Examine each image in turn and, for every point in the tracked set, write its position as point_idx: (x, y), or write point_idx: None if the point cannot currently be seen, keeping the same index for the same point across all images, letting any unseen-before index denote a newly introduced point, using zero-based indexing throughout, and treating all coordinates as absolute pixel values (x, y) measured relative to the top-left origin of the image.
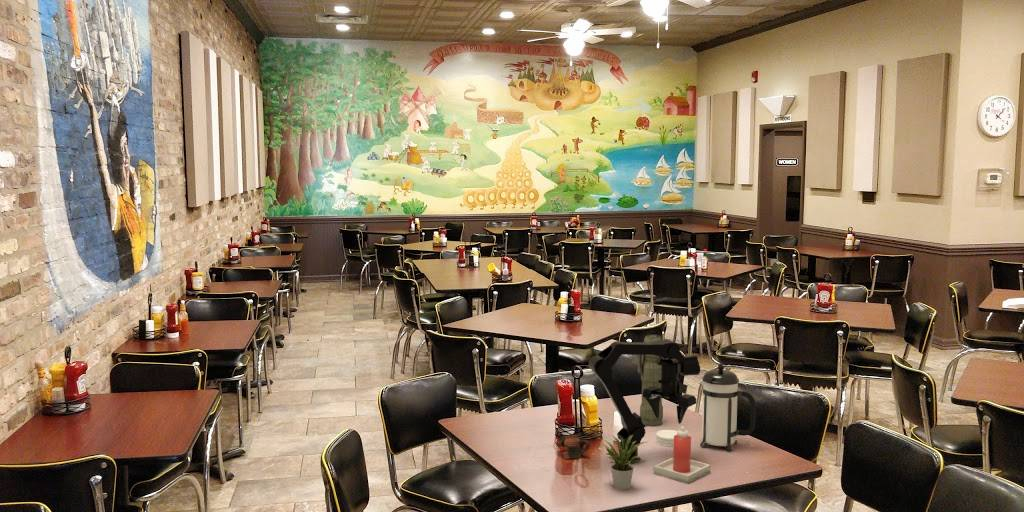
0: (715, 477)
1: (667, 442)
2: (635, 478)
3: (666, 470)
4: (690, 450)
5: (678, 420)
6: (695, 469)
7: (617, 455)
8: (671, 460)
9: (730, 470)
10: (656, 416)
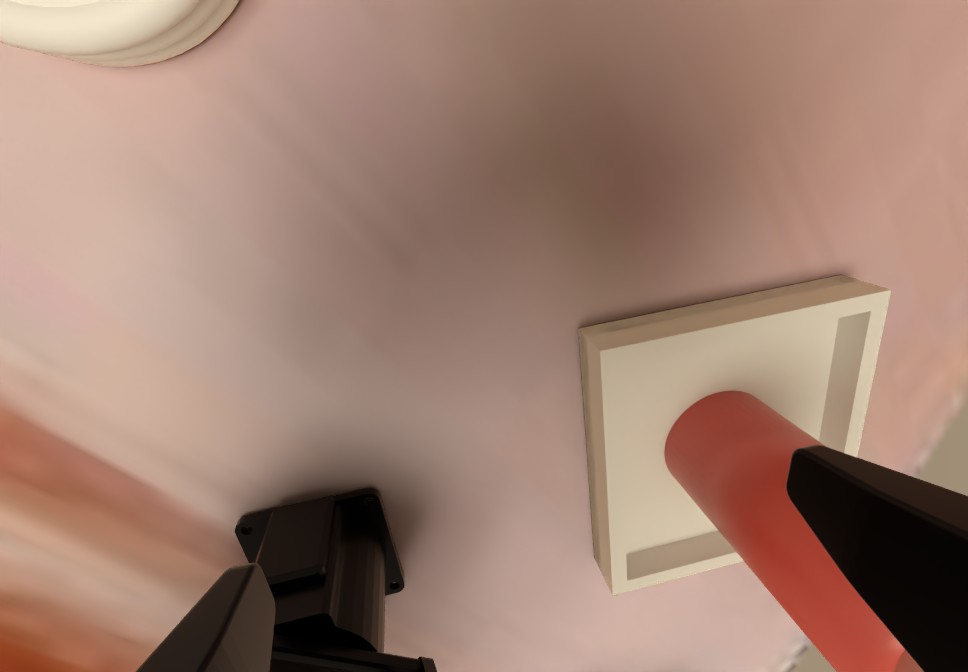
0: (895, 317)
1: (189, 32)
2: (572, 652)
3: (701, 568)
4: None
5: (854, 567)
6: (781, 364)
7: None
8: (619, 433)
9: (946, 119)
10: (266, 659)
